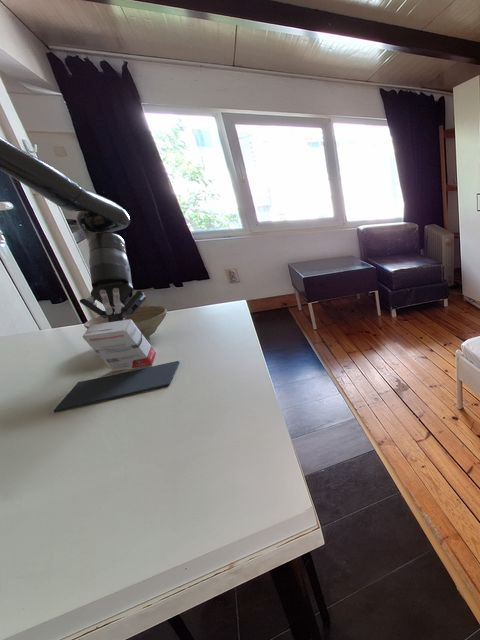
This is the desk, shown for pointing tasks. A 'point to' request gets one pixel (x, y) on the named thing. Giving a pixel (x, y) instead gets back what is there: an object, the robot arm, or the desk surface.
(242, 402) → the desk surface
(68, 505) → the desk surface
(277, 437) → the desk surface
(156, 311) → the bowl
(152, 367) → the mat
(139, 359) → the ink box
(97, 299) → the robot arm
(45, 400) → the desk surface
